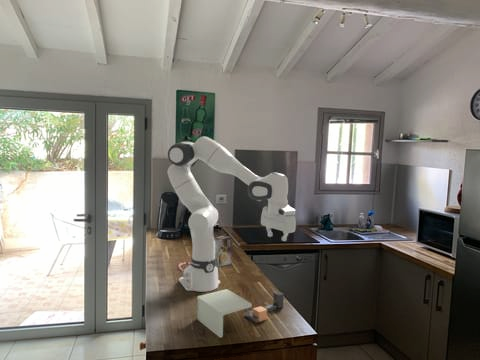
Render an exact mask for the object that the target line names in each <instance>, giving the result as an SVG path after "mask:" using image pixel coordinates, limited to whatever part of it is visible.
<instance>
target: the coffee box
mask: <svg viewBox="0 0 480 360" xmlns="http://www.w3.org/2000/svg"><path fill="white" fill-rule="evenodd" d="M214 240H215V258H216V267H217V268H219V267H224V266H228V265H231V264H232V237H231V236H228V235H220V236H214Z"/></svg>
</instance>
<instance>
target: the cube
mask: <svg viewBox="0 0 480 360" xmlns="http://www.w3.org/2000/svg"><path fill="white" fill-rule="evenodd" d="M263 307H264V306H262V305H261V306H258V307H253V308H252V310H253V315H255V316H256V317H258V318H259V322H263V321H266V320H267V319H268V312H267V309H265V308H263ZM259 322H258V323H259Z"/></svg>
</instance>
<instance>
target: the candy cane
mask: <svg viewBox="0 0 480 360" xmlns="http://www.w3.org/2000/svg"><path fill="white" fill-rule="evenodd" d="M190 263H191V262H188V261H187V262H185V261H184V262H181V263H179V264H178V265H177V269H179V270H180V271H181V272H182V273H184V270H185V269H183V268H182V267H181V266H182V265H188V266H189V265H190Z"/></svg>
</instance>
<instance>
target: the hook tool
mask: <svg viewBox="0 0 480 360" xmlns="http://www.w3.org/2000/svg"><path fill="white" fill-rule="evenodd" d="M284 296H285V295H284V293H283V292H280V291H277V292H274V293H273V302H272V303H271V304H268V305H266V306H262V307H263V308H265V309H267V313H268V312H272V311H274V310H280V309H283V308H284ZM244 315H245V317H246V318H248V319H249V320H251V321H252V322H254V323H256V324H257V323H259V318H258V317H256V316H255V315H253V309H252V310H249V311H246V312H245V314H244Z"/></svg>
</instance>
